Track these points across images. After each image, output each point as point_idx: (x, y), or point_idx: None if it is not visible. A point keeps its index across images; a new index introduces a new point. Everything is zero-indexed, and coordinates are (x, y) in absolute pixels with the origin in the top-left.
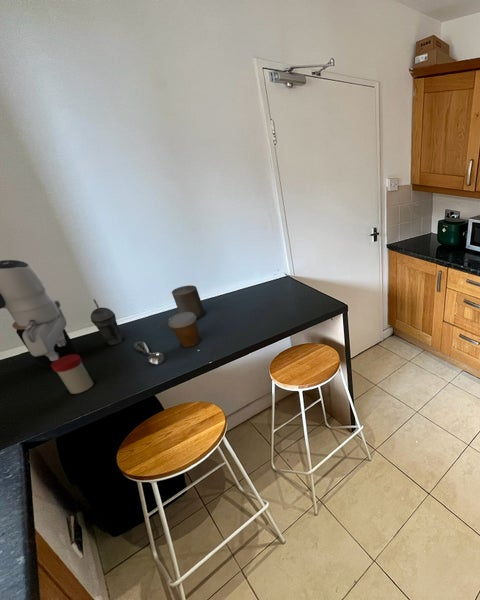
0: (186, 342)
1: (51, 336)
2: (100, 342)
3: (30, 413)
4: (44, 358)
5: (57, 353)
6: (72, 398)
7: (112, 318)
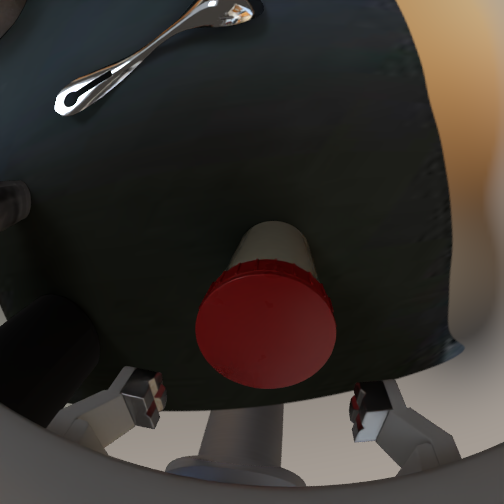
0: None
1: None
2: (14, 243)
3: (335, 361)
4: (84, 370)
5: (377, 406)
6: (333, 275)
7: None
